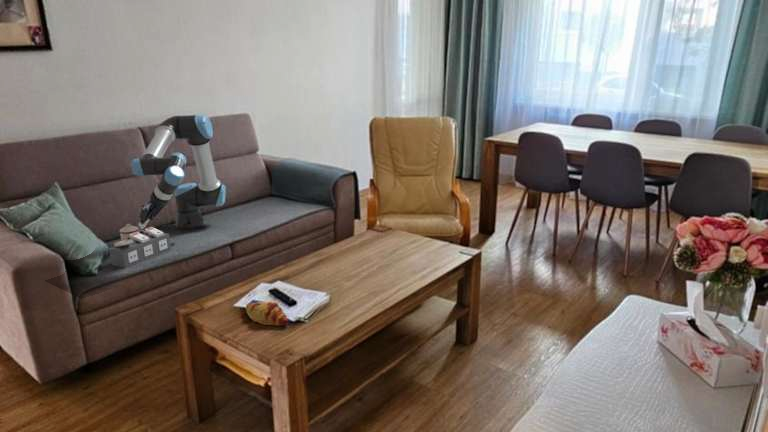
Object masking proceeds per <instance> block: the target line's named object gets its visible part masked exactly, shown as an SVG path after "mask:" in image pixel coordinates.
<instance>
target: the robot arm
mask: <svg viewBox="0 0 768 432" xmlns="http://www.w3.org/2000/svg"><path fill="white" fill-rule="evenodd" d="M213 136H214V130H213V125H212V122H211V120H210V118H209V117H208V116H207V115H204V114H202V115H200V114H195V115H174V116H170V117H169V118H167V119H165V120H163V121H161V123H159V124H158V125H157V127H156V128H155V131H154V136H153V138H152V139H151V141H150V143H149V144H148V146H147V147H146V149H145V151H144V153H143V155H142V156H141V157H140V158H133V159H132V161H131V163H130V164H131V171H132V174H134V176H138V177H139V176H143V177H144V176H145V177H147V176H161V178H160V180H159V182H158V183H157V184H156V186H155V187H154V189H153V191H152V192H151V193H150V197H149V198H150V201H148V202H147V204H146V205H142V206H141V210H140V213H139V218H140V221H139V222H138V224H137V226H138V227H139V229H140V230H144V229H146V226H147V225H148V223H149V222H150V221H153V220H154V218H156V216H157V215H158V214H159V213H160V212H161V211H162V210H163V209H164V207H166V206H167V205H168V204H169V201H170V199H171V198H172V197H173V195H174V197H175V203H176V204H175V206H176V211H177V214H176V219H175V228H176V229H178V230H192V229H197V228H200V227H201V228H202V227H203V226H204V225H205V223H206V221H205V219H204V216H203V214H202V212H201V211H200V208H204V207H221V206H223V205H224V204H225V202H226V195H227V194H226V193H227V192H226V191H227V189H226V185H225V184H223V183H221V180H219V179H218V178H217V173H216V170H215V166H214V161H213V160H214V159H213V156H212V153H211V148H210V147H211V146H210V144H209V143H210V142H211V140H212V138H213ZM175 140H186V142H187V143H186V144H187V145H188V146H190V147H191V150H192V153H193V158H194V161H195V165H196V170H197V174H198V178H199V181H200V182H199V184H197V183H196V182H187V183H184V184H181V183H182V182H183V180H184V179H185V175H186V174H185V169H186V166H187V157H186V156H185V155H184V154H182V153H181V152H178V151H177V152H173V153H171V154H170V155H168V156H169V157H164V155H165V153H166V151H167V150H168V148H169V146H170V145H171V144H172V143H173V142H175Z"/></svg>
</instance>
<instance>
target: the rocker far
mask: <svg viewBox="0 0 768 432" xmlns="http://www.w3.org/2000/svg"><path fill="white" fill-rule="evenodd" d="M130 243H133V239H131V240H125V241H121V240H120V241H117V242H115V243H113V245H114V246H113V247H116V246H122V245H127V244H130Z"/></svg>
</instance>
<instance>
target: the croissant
mask: <svg viewBox="0 0 768 432" xmlns="http://www.w3.org/2000/svg"><path fill="white" fill-rule="evenodd" d="M245 310H246V314H247V316H248V317H249V318H250V319H251V320H252V322H253V323H254V322H255V323H258V324H260V325H265V326H266V325H269V326H270V325H271V326H275V327H276V326H279V327H282V326H284V325H288V323H290V318H289V317H288V316H287V314H285V312H283V309H282V307H280V306H279V304H278V303H277V302H276V301H258V302H250V303H247V304H246V305H245Z"/></svg>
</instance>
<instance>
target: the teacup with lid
mask: <svg viewBox="0 0 768 432" xmlns="http://www.w3.org/2000/svg"><path fill="white" fill-rule="evenodd" d="M118 232H119V235H120V241H125V240H131V239H133V238H131V237H130V234H132V233H135V232H138V233H140V232H143V233H142V234H143V235H146V232H145V229H140V227H139V226H137V225H136V226H134V225H132V224H131V223H126V225H125V226H124V227H122V228H120V229H119V230H118ZM133 240H134V239H133Z"/></svg>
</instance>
